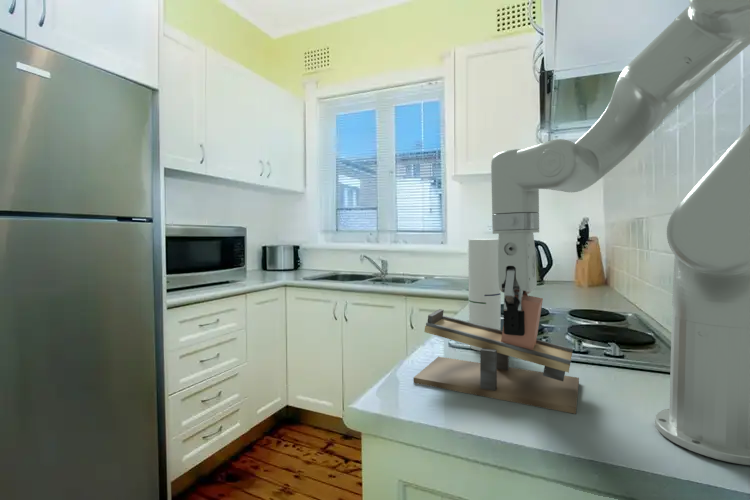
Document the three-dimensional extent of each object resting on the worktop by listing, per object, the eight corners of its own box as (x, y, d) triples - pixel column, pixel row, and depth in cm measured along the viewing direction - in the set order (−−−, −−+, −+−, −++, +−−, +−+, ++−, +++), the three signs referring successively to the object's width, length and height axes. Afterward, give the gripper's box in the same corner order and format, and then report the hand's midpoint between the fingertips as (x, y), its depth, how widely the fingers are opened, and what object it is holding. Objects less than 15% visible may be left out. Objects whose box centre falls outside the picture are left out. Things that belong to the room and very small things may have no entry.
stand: (578, 383, 70) (579, 341, 70) (575, 413, 59) (576, 363, 58) (438, 361, 83) (438, 325, 82) (413, 382, 71) (413, 341, 71)
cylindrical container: (504, 351, 89) (504, 239, 87) (472, 351, 89) (472, 239, 87) (495, 342, 96) (495, 238, 94) (465, 342, 96) (465, 238, 95)
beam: (569, 368, 68) (574, 340, 68) (566, 384, 61) (572, 354, 61) (437, 332, 80) (441, 308, 79) (422, 342, 73) (426, 316, 72)
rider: (535, 343, 69) (543, 298, 68) (532, 350, 65) (539, 303, 64) (506, 335, 71) (512, 292, 71) (500, 343, 67) (507, 296, 66)
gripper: (532, 223, 58) (533, 346, 59) (544, 224, 73) (546, 322, 74) (480, 225, 62) (483, 340, 63) (502, 225, 77) (504, 319, 77)
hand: (517, 329), depth 68 cm, fingers closed on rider, 5 cm apart
